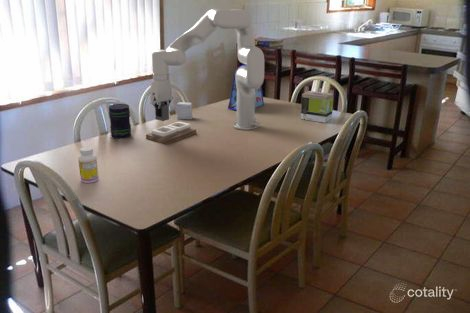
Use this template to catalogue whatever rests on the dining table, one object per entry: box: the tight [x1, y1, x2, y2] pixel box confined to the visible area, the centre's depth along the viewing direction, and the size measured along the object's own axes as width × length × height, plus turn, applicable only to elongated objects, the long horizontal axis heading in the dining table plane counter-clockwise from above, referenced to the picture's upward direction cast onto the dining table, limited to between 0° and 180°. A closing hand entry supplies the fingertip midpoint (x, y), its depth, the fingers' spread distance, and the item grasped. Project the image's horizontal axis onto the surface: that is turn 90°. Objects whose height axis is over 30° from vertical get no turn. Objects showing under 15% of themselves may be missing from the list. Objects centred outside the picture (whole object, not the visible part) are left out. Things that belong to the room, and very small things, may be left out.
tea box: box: [300, 90, 334, 124], centre depth 251 cm, size 15×10×15 cm
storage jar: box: [108, 103, 132, 140], centre depth 222 cm, size 10×10×15 cm
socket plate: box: [151, 120, 191, 138], centre depth 224 cm, size 10×19×2 cm, turn 143°
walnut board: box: [145, 127, 197, 145], centre depth 224 cm, size 14×21×2 cm, turn 143°
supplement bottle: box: [77, 146, 100, 184], centre depth 172 cm, size 7×7×13 cm
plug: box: [154, 102, 170, 122], centre depth 216 cm, size 5×4×8 cm
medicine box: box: [176, 101, 193, 120], centre depth 252 cm, size 8×4×9 cm, turn 84°
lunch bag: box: [227, 64, 265, 111], centre depth 272 cm, size 22×14×29 cm, turn 147°
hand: (162, 114), depth 216 cm, fingers closed on plug, 4 cm apart
